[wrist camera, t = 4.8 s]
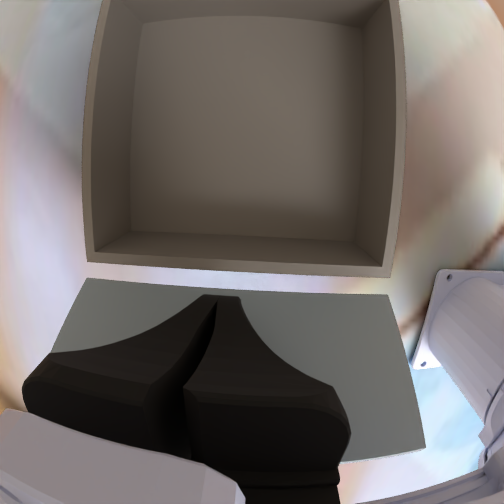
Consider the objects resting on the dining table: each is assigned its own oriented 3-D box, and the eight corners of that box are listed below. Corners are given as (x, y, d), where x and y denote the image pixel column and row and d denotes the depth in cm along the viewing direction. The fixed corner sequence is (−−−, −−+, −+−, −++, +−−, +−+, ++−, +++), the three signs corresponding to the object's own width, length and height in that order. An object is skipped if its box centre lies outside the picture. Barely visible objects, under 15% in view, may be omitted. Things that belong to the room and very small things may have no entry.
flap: (425, 447, 7) (420, 450, 7) (387, 294, 12) (384, 300, 13) (27, 413, 7) (32, 417, 8) (86, 277, 13) (89, 283, 13)
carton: (366, 26, 14) (397, -9, 9) (358, 248, 18) (390, 277, 13) (139, 21, 14) (105, -13, 9) (127, 236, 18) (87, 261, 13)
